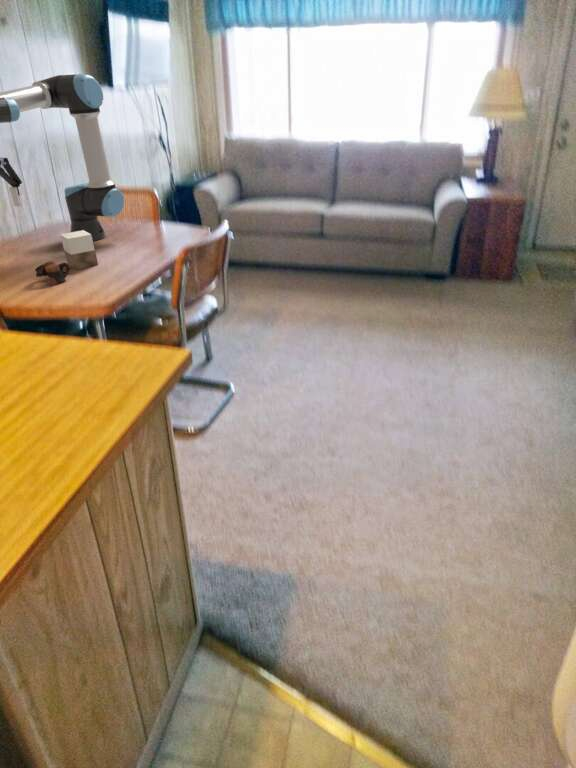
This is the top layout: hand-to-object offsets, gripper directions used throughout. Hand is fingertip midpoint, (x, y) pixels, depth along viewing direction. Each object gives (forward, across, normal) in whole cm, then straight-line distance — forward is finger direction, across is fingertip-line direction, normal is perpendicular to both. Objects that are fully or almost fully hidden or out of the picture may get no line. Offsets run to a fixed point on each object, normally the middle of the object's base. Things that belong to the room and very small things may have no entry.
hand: (2, 209), depth 193 cm
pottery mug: (+24, 0, +18) cm, 30 cm away
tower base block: (+24, -18, +13) cm, 33 cm away
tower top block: (+18, -18, +13) cm, 29 cm away
